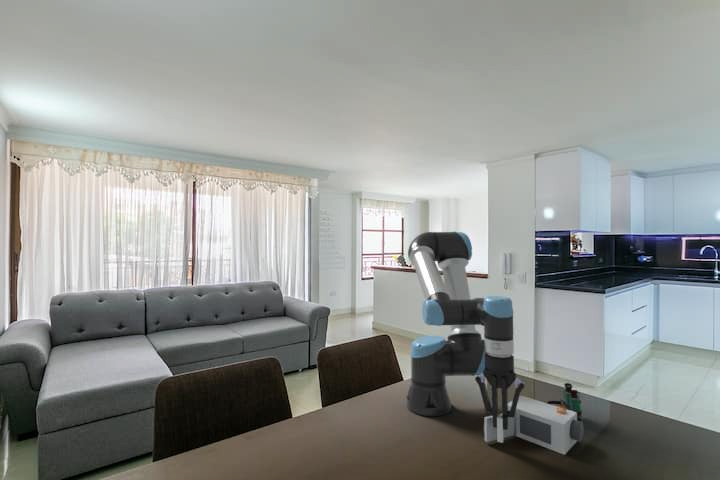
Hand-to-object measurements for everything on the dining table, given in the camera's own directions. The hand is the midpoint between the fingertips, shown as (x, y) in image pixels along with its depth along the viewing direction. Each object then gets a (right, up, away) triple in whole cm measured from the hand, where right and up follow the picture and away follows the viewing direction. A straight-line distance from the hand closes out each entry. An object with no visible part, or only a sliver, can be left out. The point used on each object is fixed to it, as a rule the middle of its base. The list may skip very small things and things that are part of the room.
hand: (500, 439), depth 99 cm
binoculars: (+26, -2, +16) cm, 31 cm away
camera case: (+14, -2, +6) cm, 15 cm away
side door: (+1, -1, +4) cm, 4 cm away
